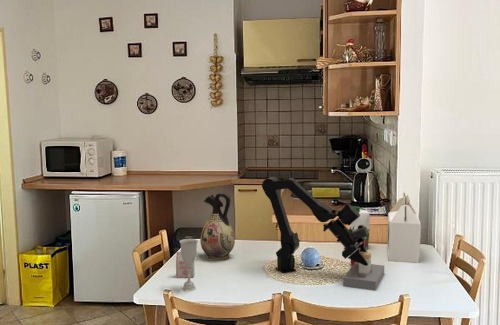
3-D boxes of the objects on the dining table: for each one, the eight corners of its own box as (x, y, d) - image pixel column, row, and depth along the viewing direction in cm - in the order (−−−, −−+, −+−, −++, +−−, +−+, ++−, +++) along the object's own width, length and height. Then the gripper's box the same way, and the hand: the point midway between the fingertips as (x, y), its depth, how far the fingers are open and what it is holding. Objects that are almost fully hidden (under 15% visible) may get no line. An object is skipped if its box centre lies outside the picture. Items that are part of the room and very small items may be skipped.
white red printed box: (177, 274, 219) (177, 250, 218) (194, 275, 219) (194, 250, 218) (176, 277, 215) (176, 253, 214) (193, 278, 215) (193, 253, 214)
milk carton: (348, 245, 266) (349, 205, 264) (366, 245, 266) (367, 205, 264) (351, 250, 257) (352, 208, 255) (370, 250, 257) (371, 208, 255)
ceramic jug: (194, 260, 239) (193, 192, 236) (209, 251, 254) (209, 187, 250) (229, 264, 233) (229, 195, 230) (243, 255, 247) (243, 190, 244)
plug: (358, 280, 213) (359, 253, 211) (360, 277, 216) (361, 251, 215) (368, 281, 211) (369, 255, 210) (370, 278, 215) (371, 252, 214)
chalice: (180, 285, 206) (179, 238, 204) (198, 284, 207) (198, 238, 205) (179, 292, 199) (179, 243, 197) (198, 291, 199) (197, 243, 197)
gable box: (419, 263, 237) (422, 199, 234) (388, 261, 240) (390, 198, 237) (415, 250, 259) (417, 191, 256) (387, 248, 262) (389, 190, 259)
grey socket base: (343, 286, 206) (343, 277, 205) (354, 270, 226) (355, 261, 226) (375, 290, 201) (375, 281, 201) (384, 273, 222) (384, 265, 221)
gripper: (351, 224, 204) (380, 256, 201) (360, 215, 221) (387, 244, 218) (330, 242, 208) (358, 274, 205) (341, 232, 225) (367, 261, 222)
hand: (368, 262), depth 212 cm, fingers open, 6 cm apart
